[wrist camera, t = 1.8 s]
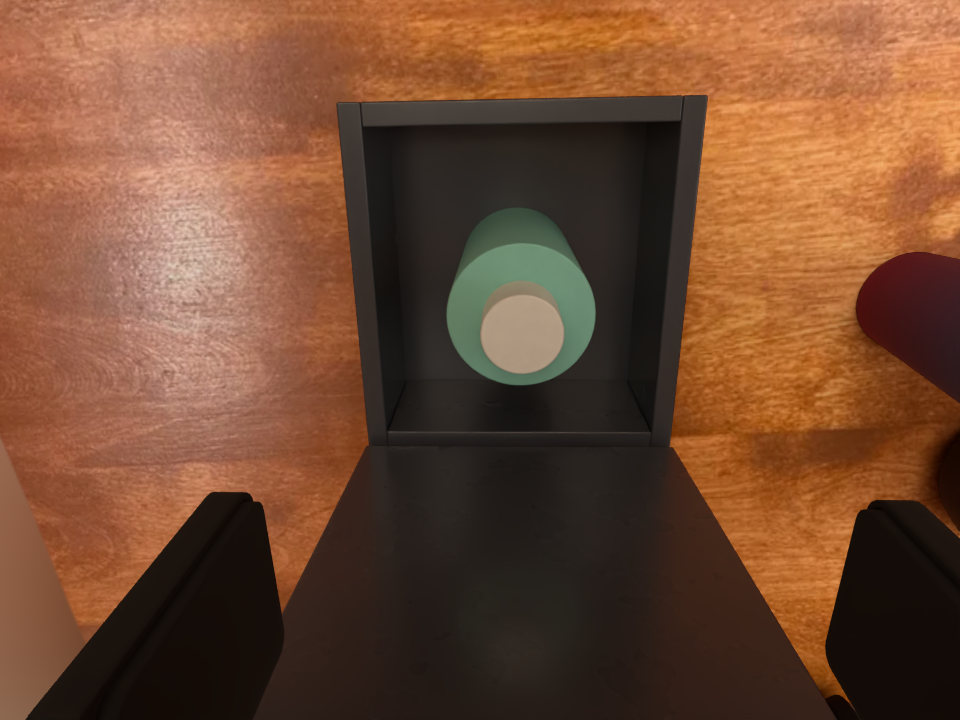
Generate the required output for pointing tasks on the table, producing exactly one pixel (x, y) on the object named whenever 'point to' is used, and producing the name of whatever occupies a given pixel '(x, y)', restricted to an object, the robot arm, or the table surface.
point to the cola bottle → (951, 483)
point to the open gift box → (582, 219)
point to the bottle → (520, 300)
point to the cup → (917, 315)
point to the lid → (530, 597)
